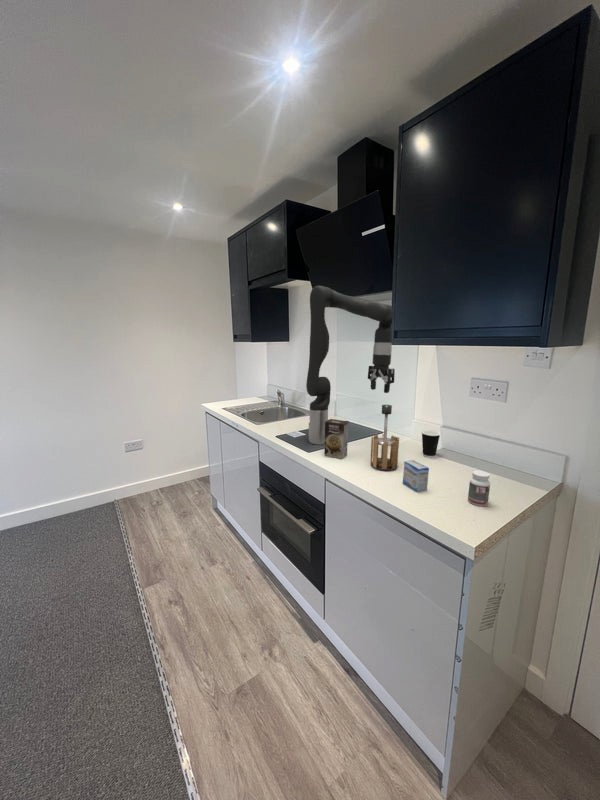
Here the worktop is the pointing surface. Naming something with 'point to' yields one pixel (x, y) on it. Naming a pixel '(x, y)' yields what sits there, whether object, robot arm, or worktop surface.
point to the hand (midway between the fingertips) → (379, 391)
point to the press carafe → (384, 455)
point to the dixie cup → (430, 442)
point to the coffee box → (336, 438)
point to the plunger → (386, 410)
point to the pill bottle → (479, 488)
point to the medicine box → (415, 475)
